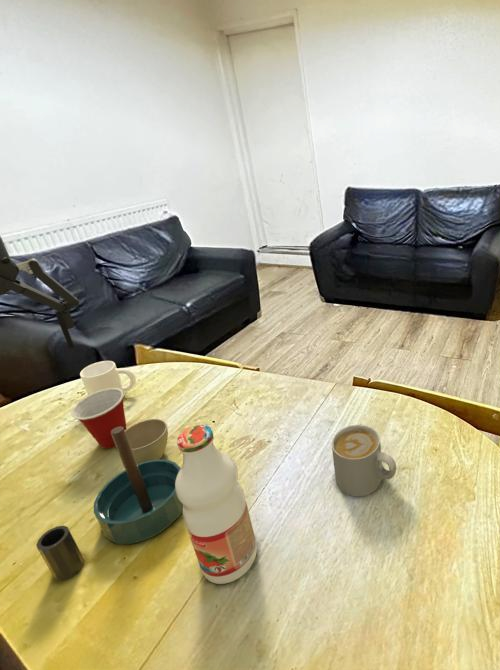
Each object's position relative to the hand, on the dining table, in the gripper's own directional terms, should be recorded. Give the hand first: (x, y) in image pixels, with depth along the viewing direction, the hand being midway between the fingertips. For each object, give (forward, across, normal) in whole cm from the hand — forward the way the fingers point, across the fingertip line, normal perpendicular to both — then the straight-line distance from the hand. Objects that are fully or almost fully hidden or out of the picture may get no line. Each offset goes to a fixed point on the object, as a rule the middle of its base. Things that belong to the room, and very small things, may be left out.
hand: (23, 359), depth 70 cm
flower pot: (+35, +13, +6) cm, 38 cm away
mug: (+35, +11, +38) cm, 53 cm away
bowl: (+35, +8, -10) cm, 37 cm away
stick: (+34, +8, -10) cm, 37 cm away
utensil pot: (+35, -5, -13) cm, 38 cm away
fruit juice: (+35, +17, -31) cm, 50 cm away
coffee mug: (+35, +45, -34) cm, 66 cm away
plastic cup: (+35, +7, +18) cm, 40 cm away
